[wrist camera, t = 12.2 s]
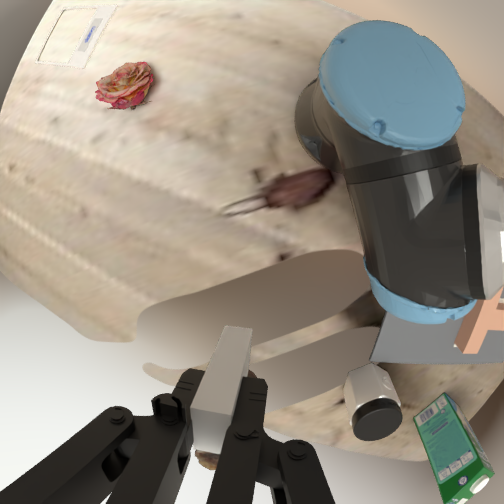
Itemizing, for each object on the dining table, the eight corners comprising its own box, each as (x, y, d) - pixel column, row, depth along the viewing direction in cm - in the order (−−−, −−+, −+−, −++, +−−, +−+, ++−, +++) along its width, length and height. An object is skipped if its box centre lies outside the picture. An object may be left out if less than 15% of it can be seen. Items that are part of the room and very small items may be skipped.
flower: (155, 122, 39) (144, 82, 32) (100, 130, 38) (84, 94, 31) (163, 85, 43) (157, 49, 35) (114, 93, 42) (103, 59, 34)
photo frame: (82, 68, 39) (34, 63, 39) (86, 69, 40) (37, 64, 40) (117, 4, 35) (62, 7, 35) (120, 6, 36) (65, 9, 36)
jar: (395, 375, 47) (414, 417, 35) (366, 402, 49) (377, 446, 37) (363, 355, 46) (379, 400, 35) (333, 385, 48) (340, 432, 37)
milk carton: (458, 405, 47) (498, 481, 23) (429, 429, 49) (459, 508, 25) (444, 391, 46) (488, 475, 22) (412, 418, 49) (443, 505, 25)
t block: (479, 272, 39) (491, 279, 36) (521, 281, 38) (533, 288, 34) (453, 342, 43) (462, 353, 39) (498, 344, 42) (507, 353, 38)
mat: (407, 224, 40) (409, 225, 39) (538, 259, 37) (540, 260, 36) (368, 359, 46) (369, 361, 46) (501, 361, 43) (502, 362, 43)
